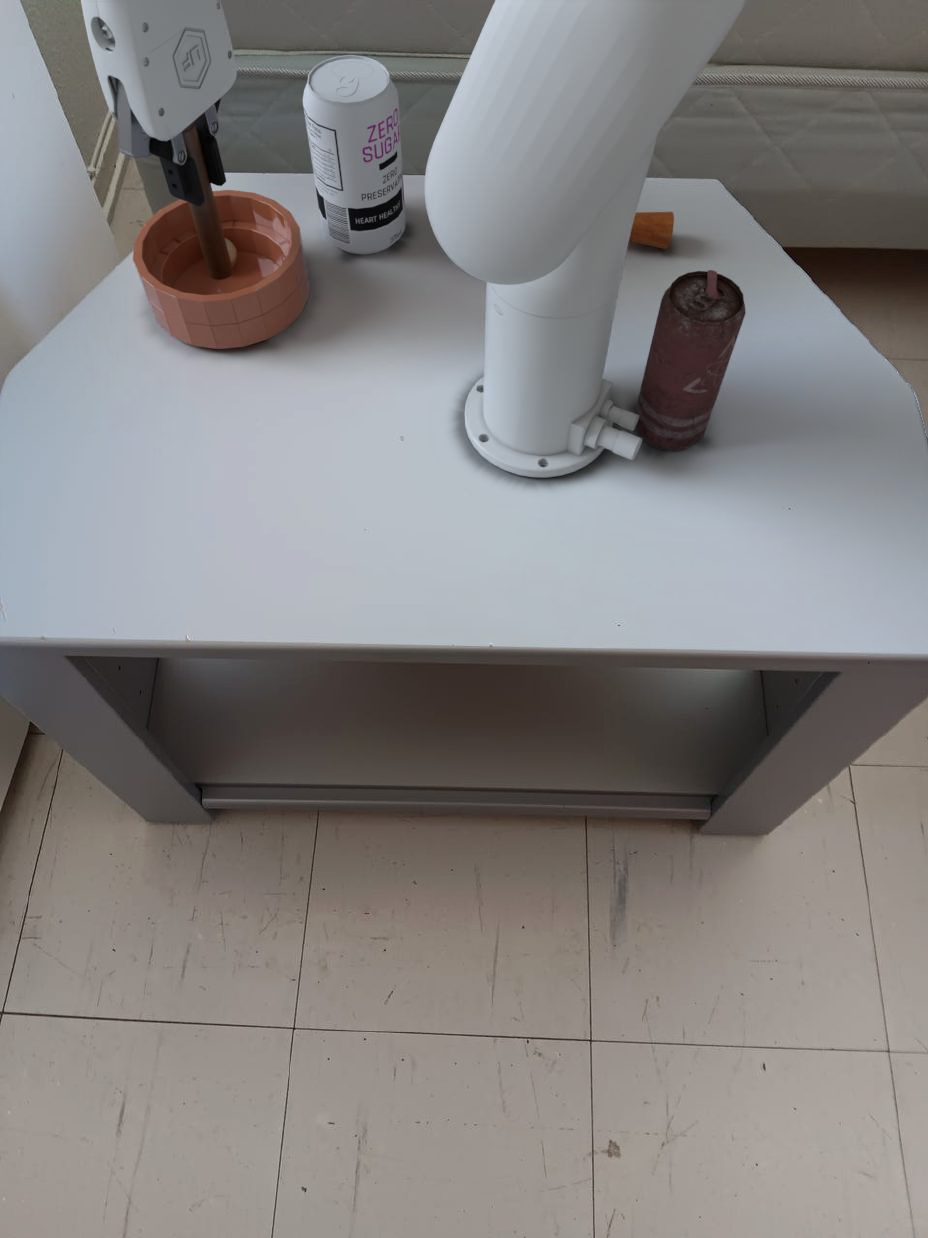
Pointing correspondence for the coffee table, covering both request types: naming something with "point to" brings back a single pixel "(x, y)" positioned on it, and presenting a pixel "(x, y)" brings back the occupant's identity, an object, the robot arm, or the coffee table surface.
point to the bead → (231, 251)
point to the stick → (207, 214)
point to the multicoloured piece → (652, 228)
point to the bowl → (240, 304)
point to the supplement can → (356, 152)
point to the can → (688, 358)
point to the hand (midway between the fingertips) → (198, 187)
